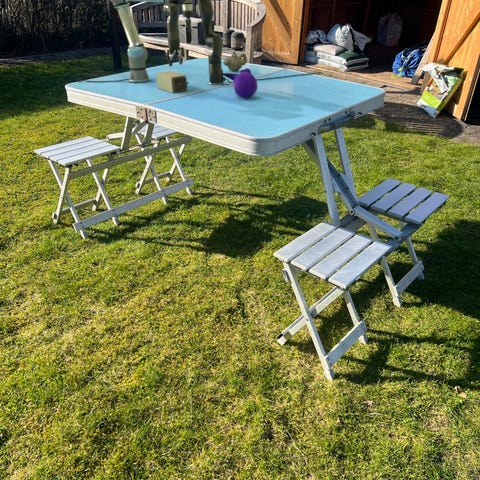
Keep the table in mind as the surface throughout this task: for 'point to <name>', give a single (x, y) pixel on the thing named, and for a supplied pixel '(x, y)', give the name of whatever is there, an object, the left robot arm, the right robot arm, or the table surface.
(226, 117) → the table surface
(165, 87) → the tan cardboard carton
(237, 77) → the toy
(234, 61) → the teapot
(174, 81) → the drawer
